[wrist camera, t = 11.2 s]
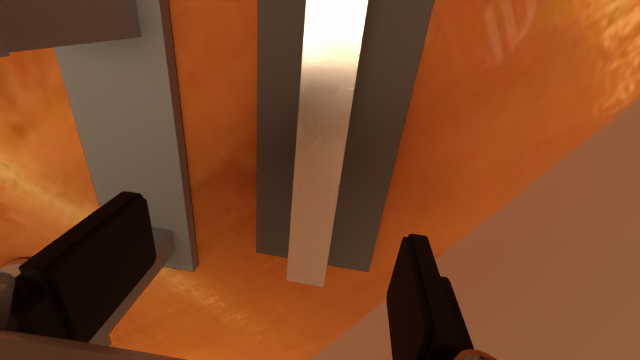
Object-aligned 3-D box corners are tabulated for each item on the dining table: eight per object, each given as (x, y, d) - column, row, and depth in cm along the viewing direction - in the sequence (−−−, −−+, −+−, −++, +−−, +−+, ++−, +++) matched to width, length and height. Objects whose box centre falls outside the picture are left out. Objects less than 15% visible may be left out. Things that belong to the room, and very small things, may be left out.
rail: (327, 260, 27) (323, 287, 25) (294, 254, 28) (286, 280, 25) (383, -97, 16) (386, -118, 13) (324, -102, 16) (315, -124, 13)
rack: (198, 264, 31) (92, 423, 19) (121, 250, 31) (-29, 396, 19) (162, -48, 19) (-197, -150, 7) (37, -62, 19) (-495, -178, 7)
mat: (368, 267, 28) (368, 272, 27) (258, 247, 29) (256, 252, 28) (456, -100, 16) (459, -104, 15) (262, -118, 16) (258, -122, 16)
